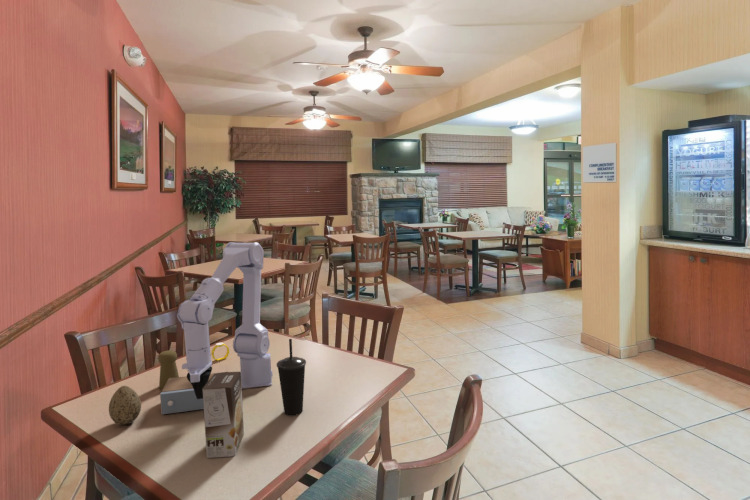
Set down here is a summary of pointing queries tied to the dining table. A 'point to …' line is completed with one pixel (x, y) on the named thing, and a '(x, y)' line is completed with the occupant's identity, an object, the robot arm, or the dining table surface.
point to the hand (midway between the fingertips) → (201, 397)
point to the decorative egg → (124, 406)
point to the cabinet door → (180, 401)
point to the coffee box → (223, 414)
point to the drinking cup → (292, 382)
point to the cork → (167, 367)
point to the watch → (220, 346)
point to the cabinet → (179, 384)
